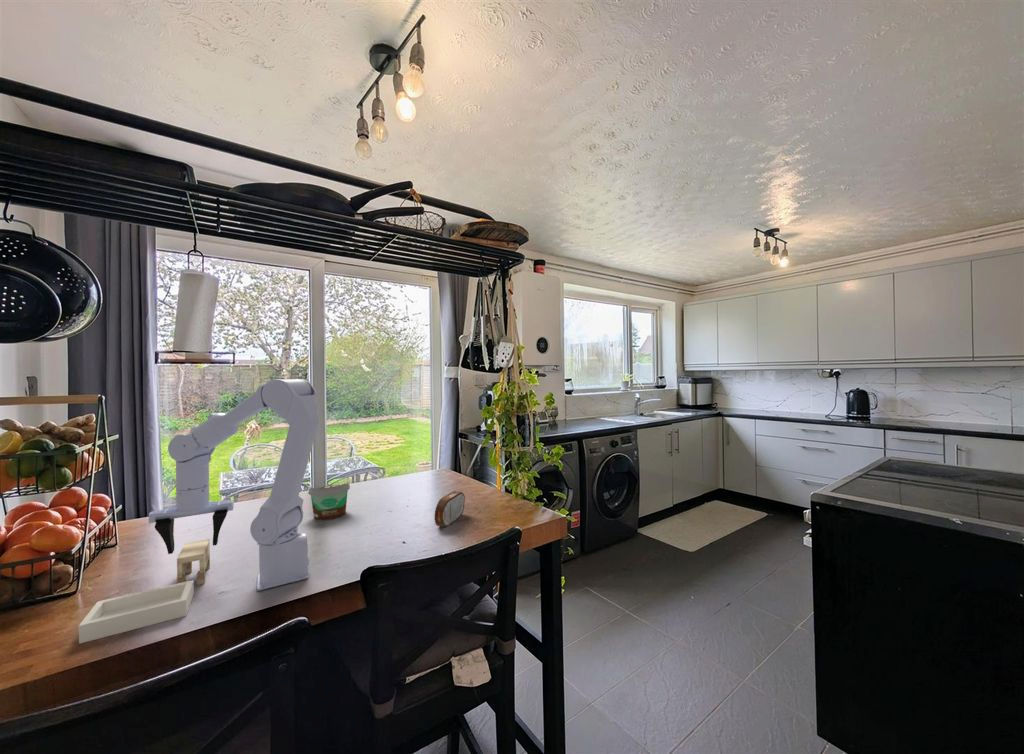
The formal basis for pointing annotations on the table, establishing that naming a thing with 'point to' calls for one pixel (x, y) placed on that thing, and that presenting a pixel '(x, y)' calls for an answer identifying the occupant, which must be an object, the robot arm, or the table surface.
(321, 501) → the food container
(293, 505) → the robot arm
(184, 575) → the wooden toy bench
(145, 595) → the tray
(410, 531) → the table surface
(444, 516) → the tin
